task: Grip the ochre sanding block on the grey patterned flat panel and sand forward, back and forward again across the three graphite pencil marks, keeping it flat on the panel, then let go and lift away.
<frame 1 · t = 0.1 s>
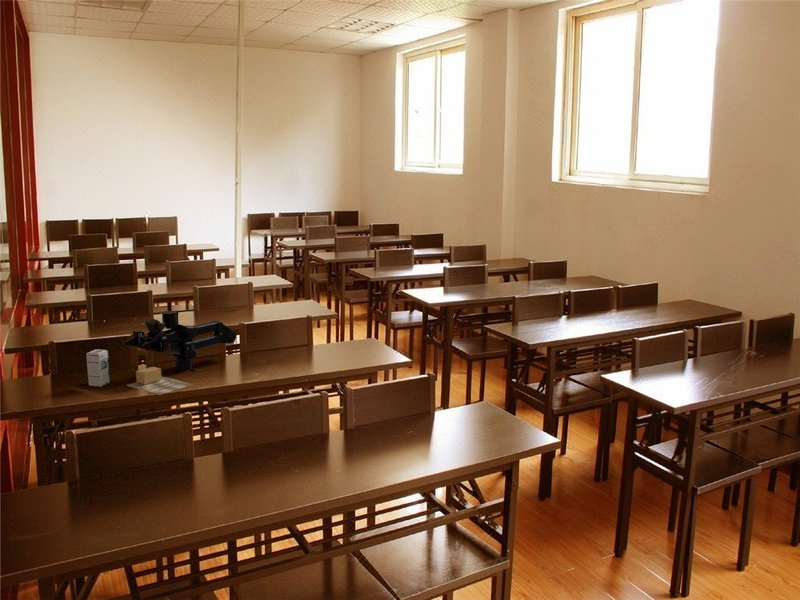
hand: (132, 345, 280), 17 cm above the table, tool horizontal, fingers open, 9 cm apart
sanding block: (149, 381, 285), point 1 cm above the table, touching grey patterned flat panel
grey patterned flat panel: (159, 387, 282), on the table
syrup box: (99, 387, 282), on the table
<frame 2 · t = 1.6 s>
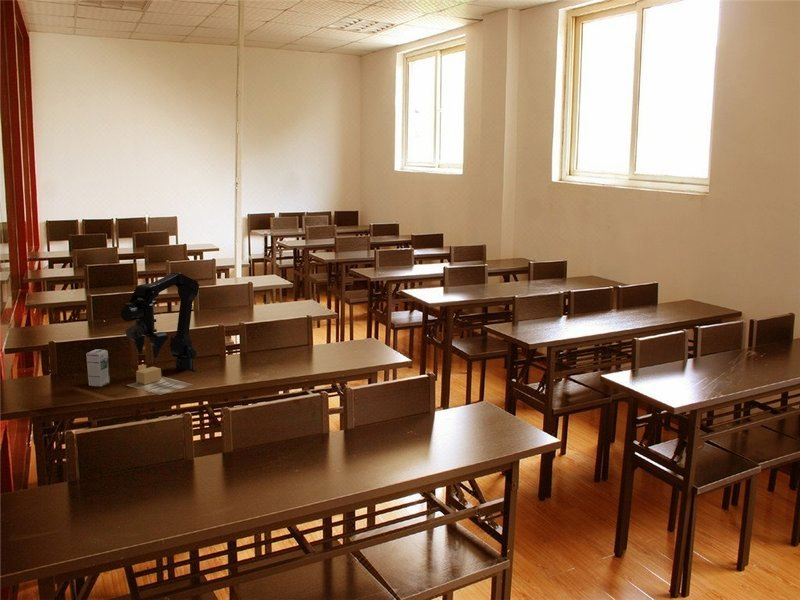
hand: (147, 355, 283), 12 cm above the table, tool pointing down, fingers open, 9 cm apart
nothing on the table moved.
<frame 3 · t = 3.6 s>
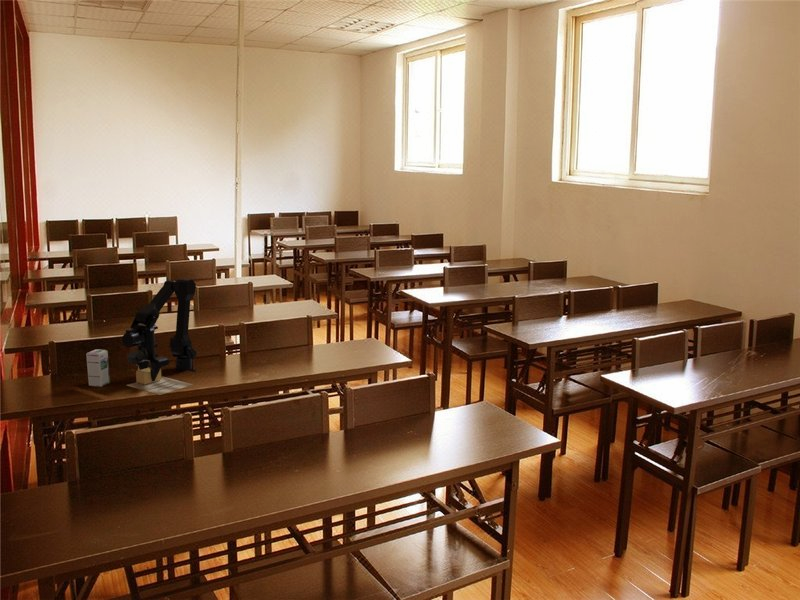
hand: (149, 379, 285), 2 cm above the table, tool pointing down, fingers closed on sanding block, 5 cm apart
sanding block: (149, 381, 285), point 1 cm above the table, touching grey patterned flat panel, gripper
everything else where it was.
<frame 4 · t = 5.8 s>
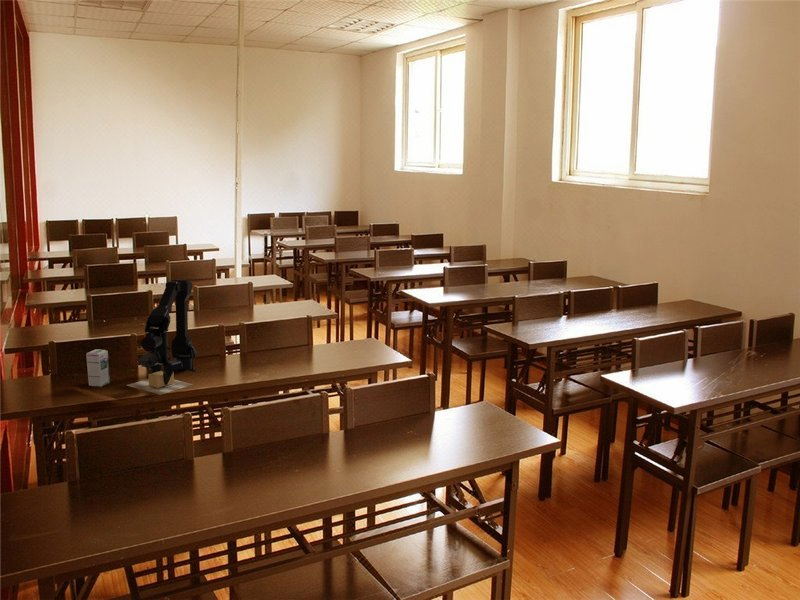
hand: (161, 383, 281), 2 cm above the table, tool pointing down, fingers closed on sanding block, 5 cm apart
sanding block: (161, 385, 281), point 1 cm above the table, touching gripper
everything else where it was.
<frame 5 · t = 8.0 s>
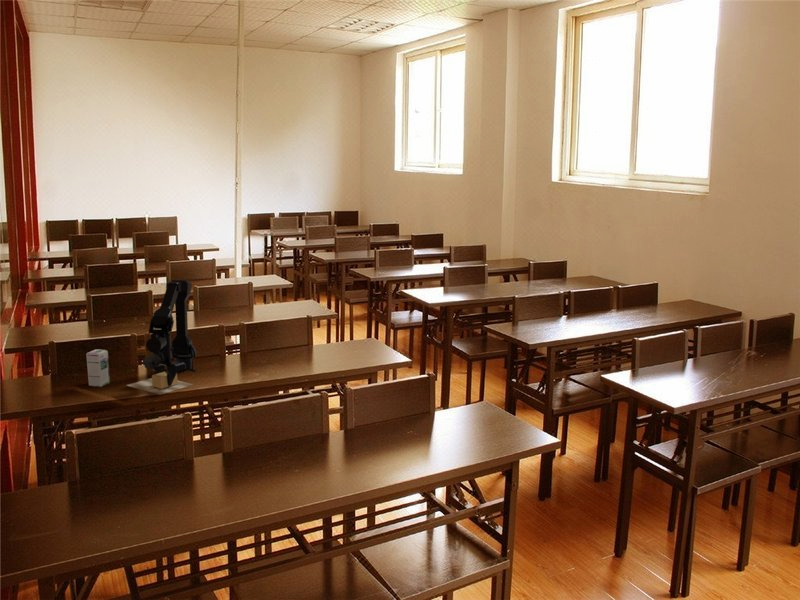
hand: (165, 384, 280), 2 cm above the table, tool pointing down, fingers closed on sanding block, 5 cm apart
sanding block: (165, 386, 280), point 1 cm above the table, touching gripper
everything else where it was.
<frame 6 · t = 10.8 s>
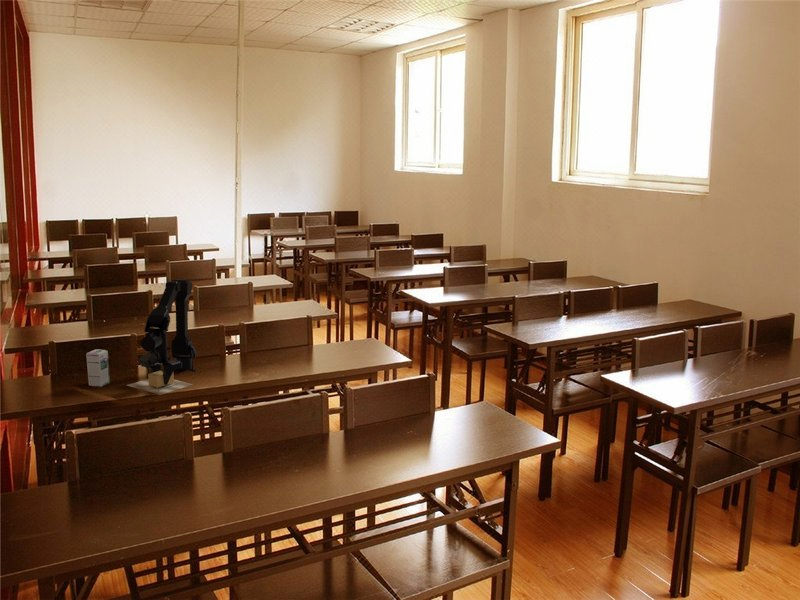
hand: (161, 383, 281), 2 cm above the table, tool pointing down, fingers closed on sanding block, 5 cm apart
sanding block: (161, 384, 281), point 1 cm above the table, touching gripper
everything else where it was.
when the fingers open (2 cm above the table, at t = 12.6 s): sanding block stays where it is, resting on grey patterned flat panel.
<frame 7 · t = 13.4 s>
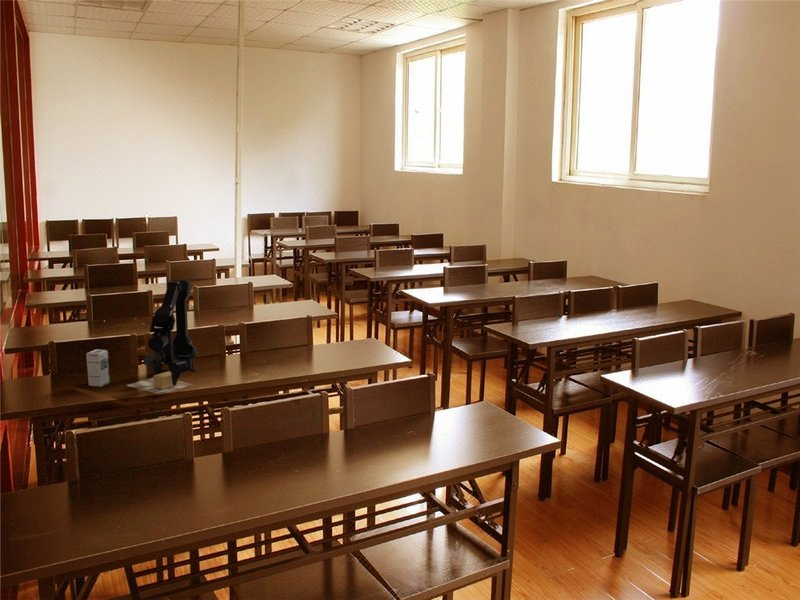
hand: (166, 383, 279), 3 cm above the table, tool pointing down, fingers open, 9 cm apart
sanding block: (166, 386, 279), point 1 cm above the table, touching grey patterned flat panel
everything else where it was.
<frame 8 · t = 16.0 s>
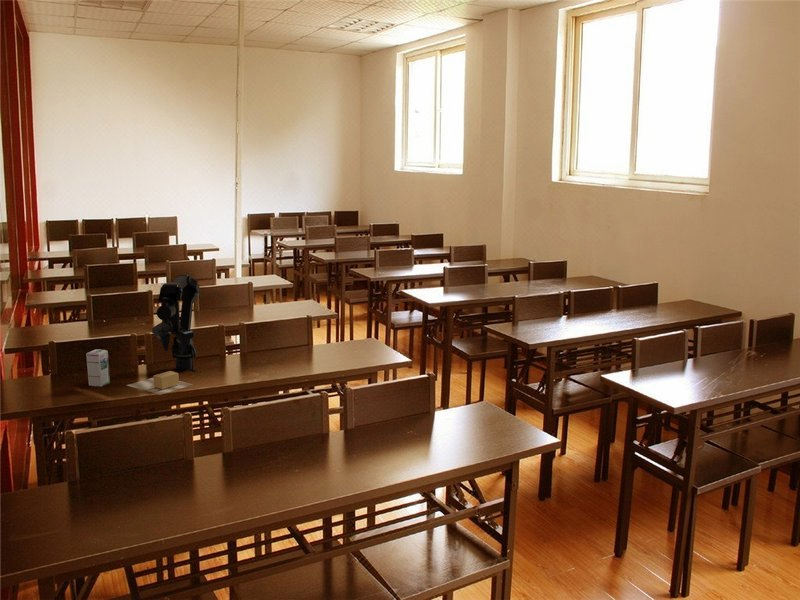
hand: (173, 352, 288), 12 cm above the table, tool pointing down, fingers open, 9 cm apart
nothing on the table moved.
at the end: sanding block inside the target area (0.8 cm from its centre), point 1.2 cm above the table; sanding block moved 10.5 cm from its start; sanding block tilted 0° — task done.
